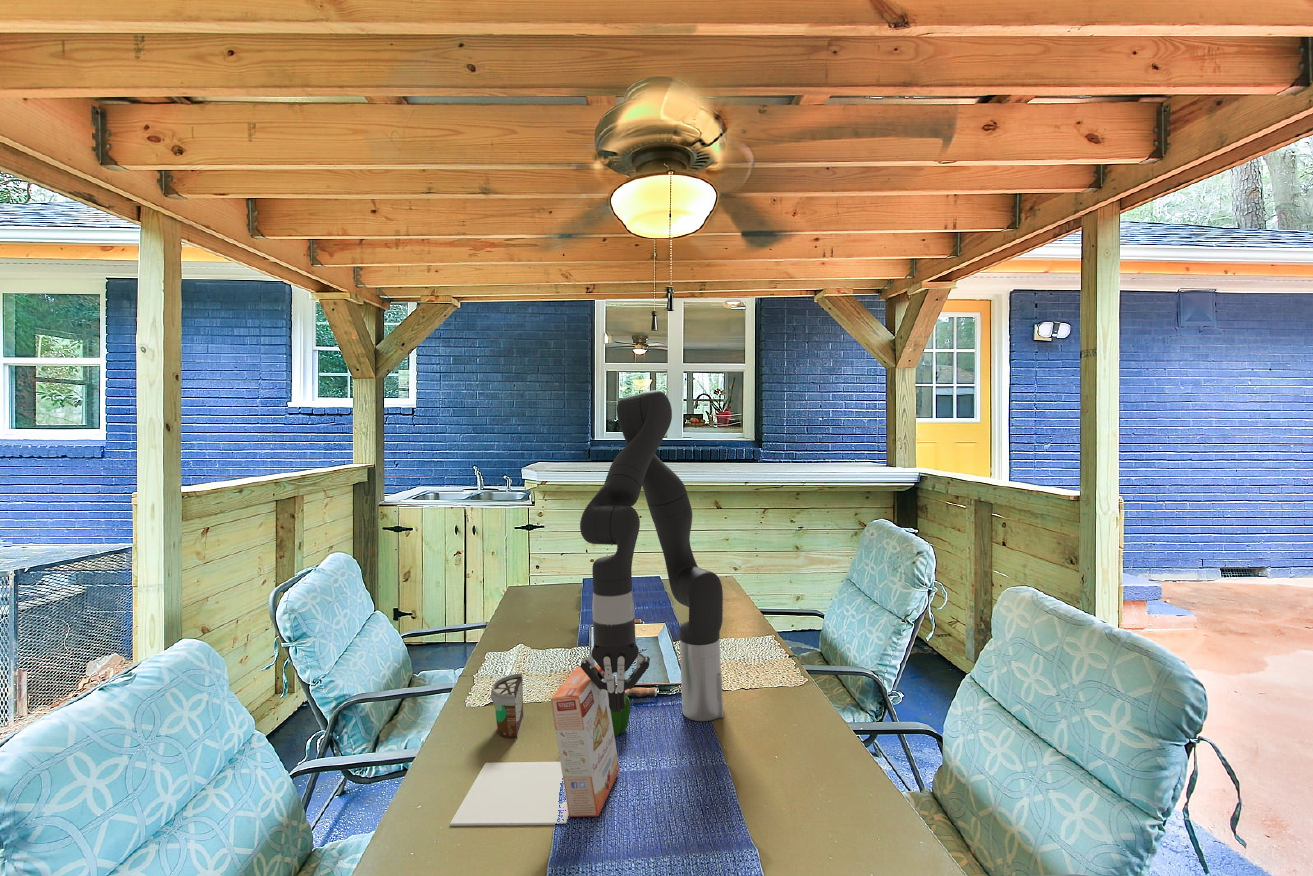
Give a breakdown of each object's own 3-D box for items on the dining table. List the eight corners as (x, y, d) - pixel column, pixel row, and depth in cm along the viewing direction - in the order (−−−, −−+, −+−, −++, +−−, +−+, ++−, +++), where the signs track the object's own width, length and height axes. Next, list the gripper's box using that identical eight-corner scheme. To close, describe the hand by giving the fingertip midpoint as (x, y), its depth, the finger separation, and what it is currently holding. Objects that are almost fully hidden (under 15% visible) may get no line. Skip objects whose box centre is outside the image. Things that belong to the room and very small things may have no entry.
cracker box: (601, 818, 100) (580, 696, 100) (567, 819, 102) (547, 698, 102) (622, 769, 114) (604, 662, 114) (592, 771, 115) (574, 665, 115)
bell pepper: (614, 718, 136) (612, 675, 135) (638, 730, 130) (636, 685, 130) (585, 732, 130) (583, 687, 130) (609, 746, 124) (607, 699, 124)
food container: (497, 716, 139) (495, 674, 139) (524, 714, 139) (522, 672, 139) (487, 744, 127) (484, 698, 126) (516, 742, 127) (514, 696, 127)
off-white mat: (584, 763, 118) (584, 761, 118) (566, 824, 100) (566, 822, 100) (485, 764, 119) (485, 762, 119) (450, 825, 101) (450, 823, 101)
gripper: (651, 608, 110) (654, 700, 111) (580, 609, 111) (584, 701, 111) (649, 622, 103) (652, 720, 103) (573, 623, 103) (577, 721, 104)
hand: (617, 710), depth 107 cm, fingers closed
